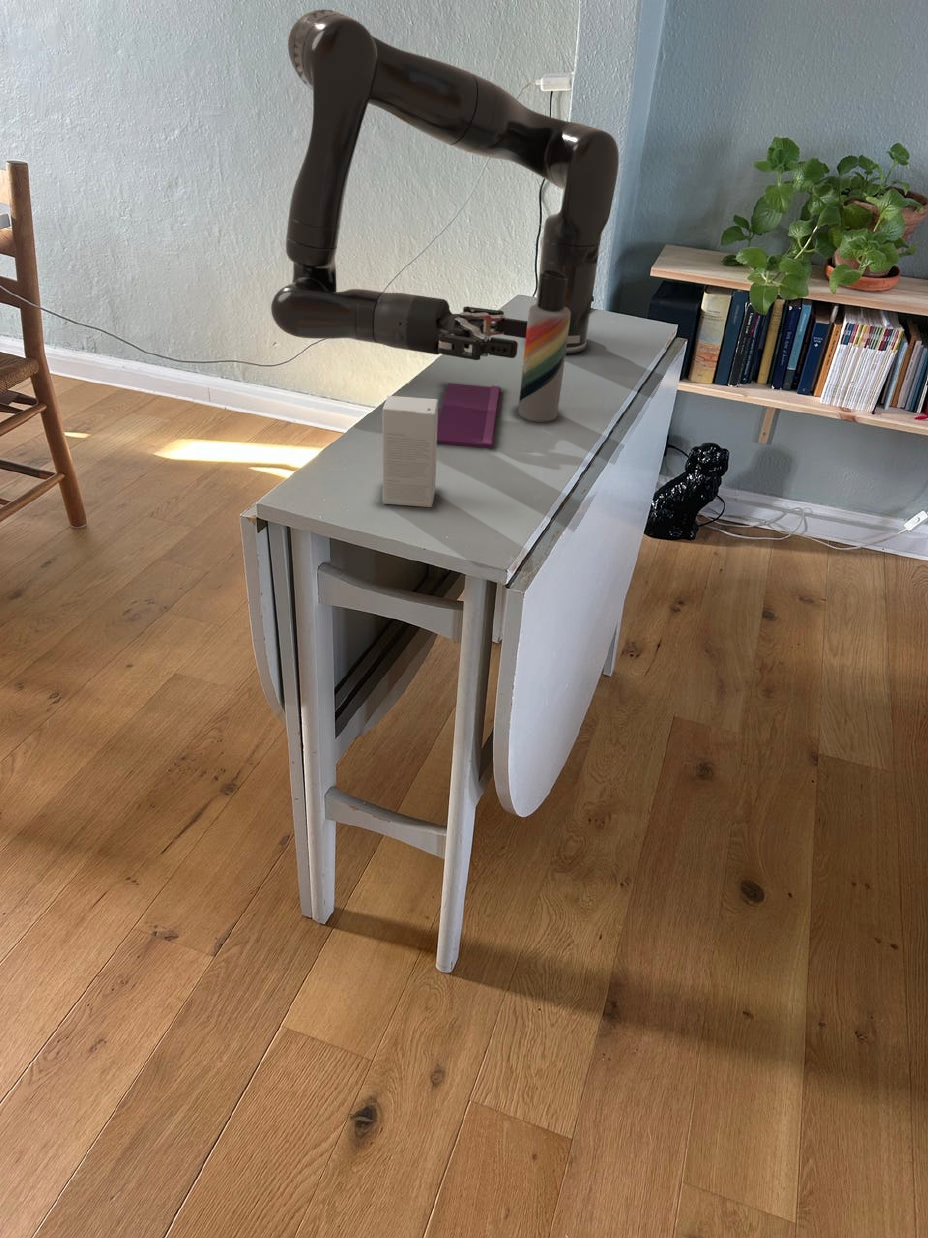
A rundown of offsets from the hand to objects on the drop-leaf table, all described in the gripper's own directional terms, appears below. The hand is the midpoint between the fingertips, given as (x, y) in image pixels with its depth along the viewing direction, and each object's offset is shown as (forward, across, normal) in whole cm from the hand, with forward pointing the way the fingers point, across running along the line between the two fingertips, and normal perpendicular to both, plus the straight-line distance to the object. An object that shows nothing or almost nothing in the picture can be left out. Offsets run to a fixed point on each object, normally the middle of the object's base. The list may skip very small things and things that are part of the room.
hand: (523, 339), depth 124 cm
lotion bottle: (+3, 0, +11) cm, 11 cm away
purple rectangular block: (-6, -4, +10) cm, 13 cm away
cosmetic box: (-7, -30, +11) cm, 33 cm away
